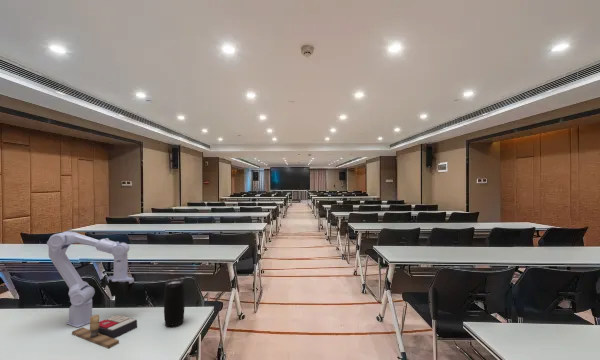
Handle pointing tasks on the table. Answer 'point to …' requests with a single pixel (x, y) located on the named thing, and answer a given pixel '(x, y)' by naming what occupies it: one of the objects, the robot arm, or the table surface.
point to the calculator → (116, 326)
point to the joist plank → (96, 338)
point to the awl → (94, 325)
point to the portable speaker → (174, 302)
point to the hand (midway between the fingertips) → (120, 296)
